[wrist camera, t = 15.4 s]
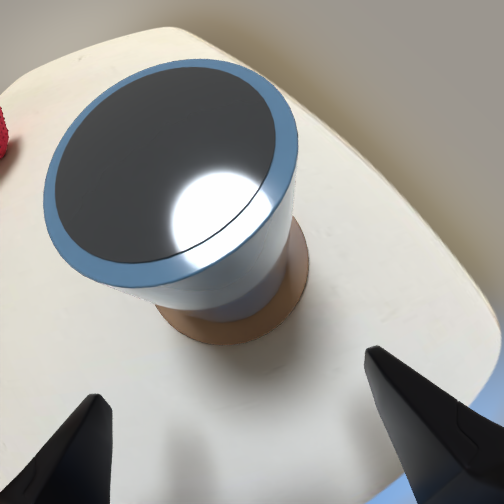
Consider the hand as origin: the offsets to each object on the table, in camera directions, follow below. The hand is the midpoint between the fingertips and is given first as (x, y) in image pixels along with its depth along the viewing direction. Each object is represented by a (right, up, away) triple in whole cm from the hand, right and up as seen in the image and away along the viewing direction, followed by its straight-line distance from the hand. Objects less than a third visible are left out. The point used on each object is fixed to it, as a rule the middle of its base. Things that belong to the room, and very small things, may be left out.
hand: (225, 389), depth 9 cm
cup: (-1, +4, +8) cm, 8 cm away
